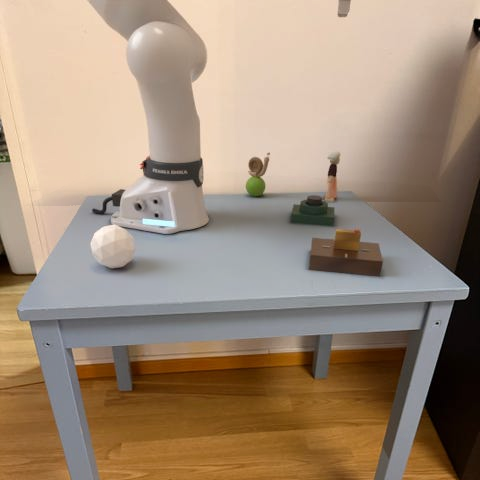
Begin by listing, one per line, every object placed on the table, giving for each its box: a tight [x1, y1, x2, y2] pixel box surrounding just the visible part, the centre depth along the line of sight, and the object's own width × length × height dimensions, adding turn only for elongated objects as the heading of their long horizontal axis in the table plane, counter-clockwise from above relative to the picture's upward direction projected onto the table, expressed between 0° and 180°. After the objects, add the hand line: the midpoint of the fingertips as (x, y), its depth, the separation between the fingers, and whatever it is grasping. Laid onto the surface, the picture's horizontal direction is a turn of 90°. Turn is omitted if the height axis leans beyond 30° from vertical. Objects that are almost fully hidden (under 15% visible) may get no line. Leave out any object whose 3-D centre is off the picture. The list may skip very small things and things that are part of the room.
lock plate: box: [308, 237, 384, 277], centre depth 87 cm, size 13×9×3 cm
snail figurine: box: [245, 151, 271, 197], centre depth 123 cm, size 5×6×12 cm
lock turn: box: [334, 228, 362, 251], centre depth 85 cm, size 5×1×4 cm, turn 80°
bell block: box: [290, 199, 335, 227], centre depth 109 cm, size 10×8×4 cm
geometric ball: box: [89, 224, 136, 270], centre depth 82 cm, size 8×8×8 cm
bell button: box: [306, 194, 323, 206], centre depth 108 cm, size 4×4×2 cm
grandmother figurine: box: [324, 150, 341, 203], centre depth 122 cm, size 8×4×13 cm, turn 179°
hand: (342, 15), depth 78 cm, fingers open, 8 cm apart
